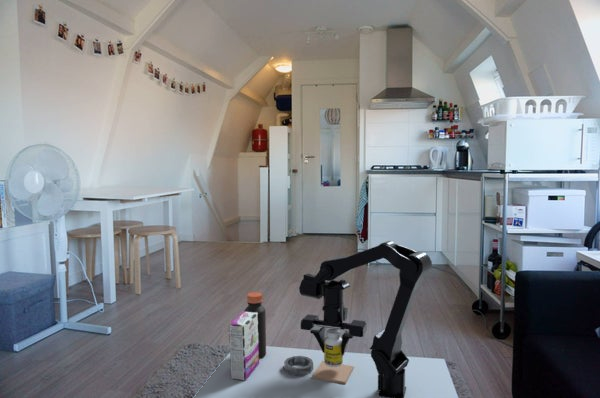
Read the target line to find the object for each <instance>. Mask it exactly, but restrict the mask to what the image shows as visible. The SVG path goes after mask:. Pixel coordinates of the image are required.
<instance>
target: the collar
mask: <svg viewBox="0 0 600 398" xmlns="http://www.w3.org/2000/svg"><path fill="white" fill-rule="evenodd" d="M283 361H284V363H283V365H284V366H283V367H284V372H285V373H286V374H288V375H289V376H295V377H300V376H306V375H308V374H311V373H312V372H313V370H314V362H313V359H312V358H310V357H309V356H304V355H293V356H290V357H288V358H286V359H285V360H283ZM298 364H301V365H304V366H301V367H300V366H299V367H297V366H292V365H298Z"/></svg>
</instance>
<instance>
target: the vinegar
mask: <svg viewBox="0 0 600 398" xmlns="http://www.w3.org/2000/svg"><path fill="white" fill-rule="evenodd" d="M246 302H247V303H246V304H247V306H246V307H245V308H244V311H243V312H256V313H258V340H259V360H260V359H263V358H264V357H265V356H266V354H267V330H266V328H267V327H266V319H267V318H266V315H267V314H266V308H265V307H264V306H263V305H262V304H263V293H262V292H256V291H255V292H249V293H247V295H246Z"/></svg>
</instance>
